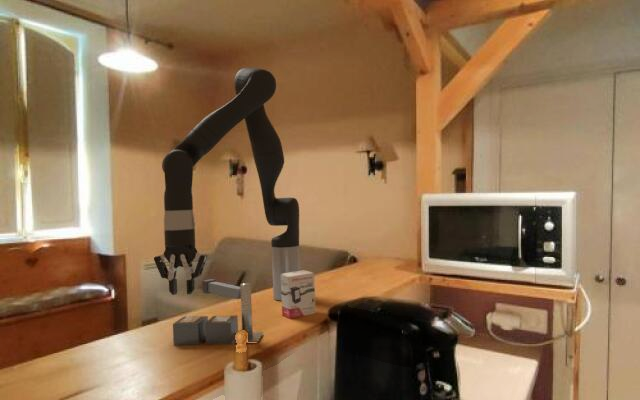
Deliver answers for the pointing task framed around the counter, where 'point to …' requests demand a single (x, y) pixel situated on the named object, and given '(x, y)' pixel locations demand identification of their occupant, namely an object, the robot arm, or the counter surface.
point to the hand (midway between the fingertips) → (182, 293)
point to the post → (247, 314)
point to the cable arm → (221, 289)
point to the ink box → (298, 294)
